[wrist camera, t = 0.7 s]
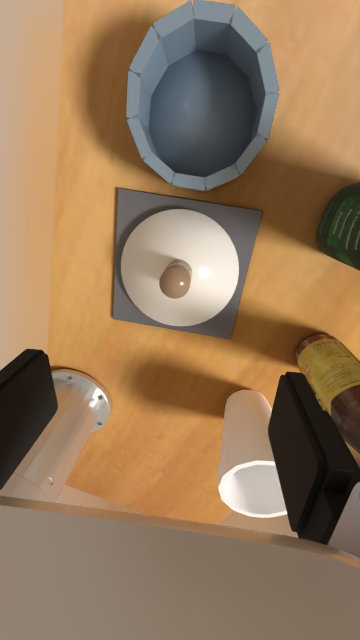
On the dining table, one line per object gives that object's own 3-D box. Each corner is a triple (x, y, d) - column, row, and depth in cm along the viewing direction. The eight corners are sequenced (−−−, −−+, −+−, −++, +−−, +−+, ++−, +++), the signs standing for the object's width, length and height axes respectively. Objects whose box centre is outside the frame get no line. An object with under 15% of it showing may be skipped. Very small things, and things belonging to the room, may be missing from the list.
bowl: (246, 198, 29) (254, 198, 24) (137, 181, 29) (123, 177, 24) (279, 52, 24) (298, 13, 19) (147, 33, 24) (132, -10, 19)
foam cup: (204, 415, 42) (204, 499, 30) (233, 371, 38) (244, 448, 26) (258, 436, 43) (277, 527, 31) (291, 396, 39) (327, 481, 27)
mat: (229, 337, 36) (230, 339, 36) (113, 317, 36) (112, 319, 36) (261, 211, 29) (262, 211, 29) (119, 188, 30) (118, 188, 29)
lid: (224, 331, 35) (227, 352, 30) (120, 313, 36) (106, 332, 31) (251, 219, 29) (260, 223, 24) (126, 199, 30) (110, 199, 25)
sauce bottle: (283, 359, 37) (358, 515, 19) (312, 323, 34) (431, 462, 16) (323, 379, 37) (432, 547, 19) (355, 345, 35) (515, 502, 17)
